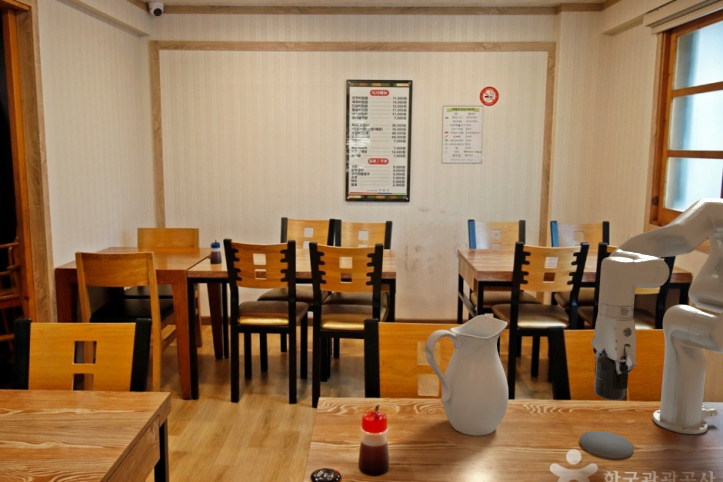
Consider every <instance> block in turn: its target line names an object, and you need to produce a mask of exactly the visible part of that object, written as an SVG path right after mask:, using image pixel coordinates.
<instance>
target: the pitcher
mask: <svg viewBox="0 0 723 482" xmlns="http://www.w3.org/2000/svg"><path fill="white" fill-rule="evenodd" d="M507 326H508V321H504V320H501V319H499V318H495V317H492V316H489V315H487V314H480V315H476V316H474V317H473V318H471V319H470V320H468V321H466V322H465V323H463V324H461V325H459V326H456V327H455V326H454V327H451V328H450V329H449V330H447V329H438V330H435V331H433V332H432V333H430V335H429V336H428V337H427V340H426V341H425V346H424V353H425V359H426V362H427V363H428V365H429V366H430V368H431V369H432V371H433V372H434V374H435V375H436V376H437V377H438V379H439V380H440V383H441V397H440V402H441V403H442V407H443V408H442V409H443V411H444V413H445V416H446V418H447V420H448V421H449V423H450V425H451V426H452V427H453V429H454V430H456V431H457V432H460V433H461V434H464V435H469V436H473V437H478V436H479V437H480V436H486V435H489V434H492V433H493V432H495V431H496V429H497V428H498V427H499V425H501V423H502V421H503V419H504V417H505V415H506V413H507V409H508V404H509V403H508V402H509V386H508V385H509V384H508V380H507V376H506V373H505V369H504V367H503V364H502V361H501V359H500V356H499V352H498V346H497V343H498V339H499V337H500V335H502V334H501V333H503V331H504V330H505V329H506V328H507ZM442 338H448V339H450V340H452V344H453V347H454V351H453V353H452V356H451V358H450V360H449V362H448V364H447V367H446V369H445V371H444V372H445V373H443V372H442V370H441V368H440V367H439V365H438V364H437V361H436V359H435V347H436V344H437V343H438V342H439V340H440V339H442Z"/></svg>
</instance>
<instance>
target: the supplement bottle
mask: <svg viewBox="0 0 723 482" xmlns="http://www.w3.org/2000/svg"><path fill="white" fill-rule="evenodd" d="M601 353H602V355H600V356H599V357H598V358H597V361H596V360H595V363H596V374H595V373H594V378H595V379H594V387H593V388H594V389H593V390H594V393H595V395H597V396H598V397H600V398H602V399H605V400H611V401H612V400H613V401H619V400H620V401H621V400H623V399H624V398H625V396H626V390H627V389H619V390H615V389H614V374H615V373H616V372H617V371H616V366H615V361H614V360H612V359H610V358H609V357H607V356H608V355H607V354H606V350H605V348H603V350H602V351H601ZM620 359H623V357H620ZM620 365H621V367H622V366H623V365H624V363H623V362H620Z"/></svg>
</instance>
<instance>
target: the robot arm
mask: <svg viewBox="0 0 723 482" xmlns="http://www.w3.org/2000/svg"><path fill="white" fill-rule="evenodd" d="M707 240H708V241H709V252H708V256H707V258H706V260H705V261H704V263H703V265H702V266H701V268H700V269H699V271H698V273H697V275H696V276H695V278H694V279H693V281H692V283H691V285H690V287H689V288H688V289H689V290H688V298H689V300H690V302H692V303H693V304H694V305H696V306H693V305H688V304H676V305H672V306H670V307H669V308H668V309H667V310H666V311H665V313H664V315H663V319H662V330H663V337H664V357H663V358H664V361H663V371H662V384H661V395H660V396H661V397H660V407H659V409H658V410H655V411H654V412H653V414H652V419H653V421H654V423H656V424H657V425H658V426H660V427H662V428H663V429H666V430H669V431H672V432H675V433H679V434H685V435H698V434H703V433H705V432H707V430H708V425H709V424H708V422H707V421H706V420H705V419H707V418H708V417H717V416H718V410H717V409H716V408H707V409H706V407H705V405H703V403H704V393H705V381H706V372H707V359H706V358H707V357H706V354H705V352H704V350H706V351H709V352H712V353H716V354H720V355H721V354H722V355H723V198H717V197H716V198H714V197H711V198H707V197H705V198H702V199H701V198H700V199H699V200H697V201H695V202H694V203H692V204H691V205H690V206H689V207H687V208H686V209H685V210H684V211H683V212H682V213H680V214H679V215H678V216H677V217H676V218H674V219H673V220H672V221H670V222H669V223H668V224H666V225H664V226H660V227H658V228H653V229H651V230H649V231H646V232H643V233H639V234H637V235H634V236H633V237H631V238H628V239H627V240H625V241H624V242H623V243H621V244H620V245H619V246H617V247H616V248H615V249H614V250H613V251H612V252H611V253H610V254H609V256H608V257H604V258H603V259H602V261H601V265H600V278H599V281H600V282H599V294H598V308H597V309H598V310H597V311H598V312H597V317H596V321H595V327H594V336H593V338H592V339H591V340H590V341H591V346H592V349H593V353H594V361H595V364H594V365H595V368H594V375H595V374H596V361H597V358H598V357H599V356H600V355H602V353H601V351H602V350H603V348H605V350H606V354H607V355H608V356H607V357H609V358H610V359H612V360H614V361H615V366H616V371H617V372H616V373H615V374H614V389H615V390H619V389H626V390H627V389H628V385H629V382H628V381H629V374H631V371H632V370H633V369H634V368H635V367H636V366H637V363H638V362H637V359H636V354H637V353H636V351H637V334H636V333H637V332H636V331H637V329H636V324H635V322H636V321H635V319H634V309H635V293H636V289H656V288H659V287H661V286H663V285H664V284H665V283H666V282H667V280H668V279H669V277H670V268H669V265H668V264H667V263H666V262H665V260H664V259H662V258H667V257H676V256H682V255H687V254H690V253H692V252H694V251H695V250H696V249H698V248H699V247H700V246H701V245H702V244H703V243H704V242H706V241H707ZM620 357H623V359H620ZM620 362H623V363H624V365H623V366H622V367H621V365H620Z"/></svg>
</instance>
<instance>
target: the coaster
mask: <svg viewBox="0 0 723 482" xmlns="http://www.w3.org/2000/svg"><path fill="white" fill-rule="evenodd" d="M579 444H580V446H581V447H582V449H584V450H586V451H587V452H588V453H590V454H592V455H594V456H597V457H601V458H606V459H612V460H613V459H614V460H615V459H616V460H620V459H621V460H622V459H627V458H630V457H631V456H632V455H633V454H634V445H633V444H632V442H631V441H630V440H629V439H627V438H625V437H624V436H621V435H618V434H617V433H613V432H608V431H600V430H593V431H587V432H584V433H583V434H581V435H580V437H579Z"/></svg>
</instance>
